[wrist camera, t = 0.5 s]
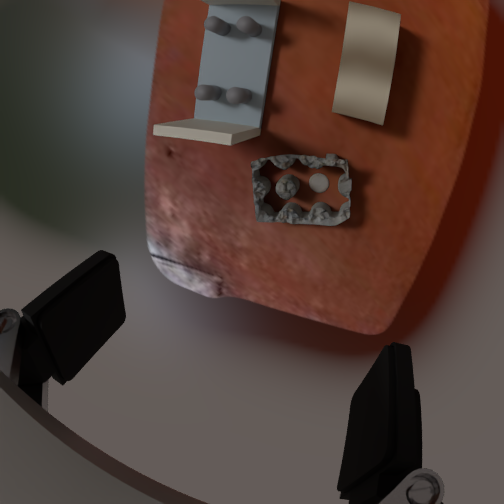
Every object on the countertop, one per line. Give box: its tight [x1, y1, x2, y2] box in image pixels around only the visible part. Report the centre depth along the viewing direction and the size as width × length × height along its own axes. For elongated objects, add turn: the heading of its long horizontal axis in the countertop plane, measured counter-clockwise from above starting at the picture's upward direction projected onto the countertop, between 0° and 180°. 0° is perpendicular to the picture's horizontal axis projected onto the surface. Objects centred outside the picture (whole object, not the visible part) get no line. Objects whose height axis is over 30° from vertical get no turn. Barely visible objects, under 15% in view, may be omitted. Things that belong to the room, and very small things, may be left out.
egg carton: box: [251, 154, 352, 226], centre depth 32 cm, size 11×8×4 cm
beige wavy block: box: [332, 2, 401, 125], centre depth 24 cm, size 12×5×4 cm, turn 172°
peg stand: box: [153, 0, 281, 146], centre depth 25 cm, size 17×8×9 cm, turn 172°
